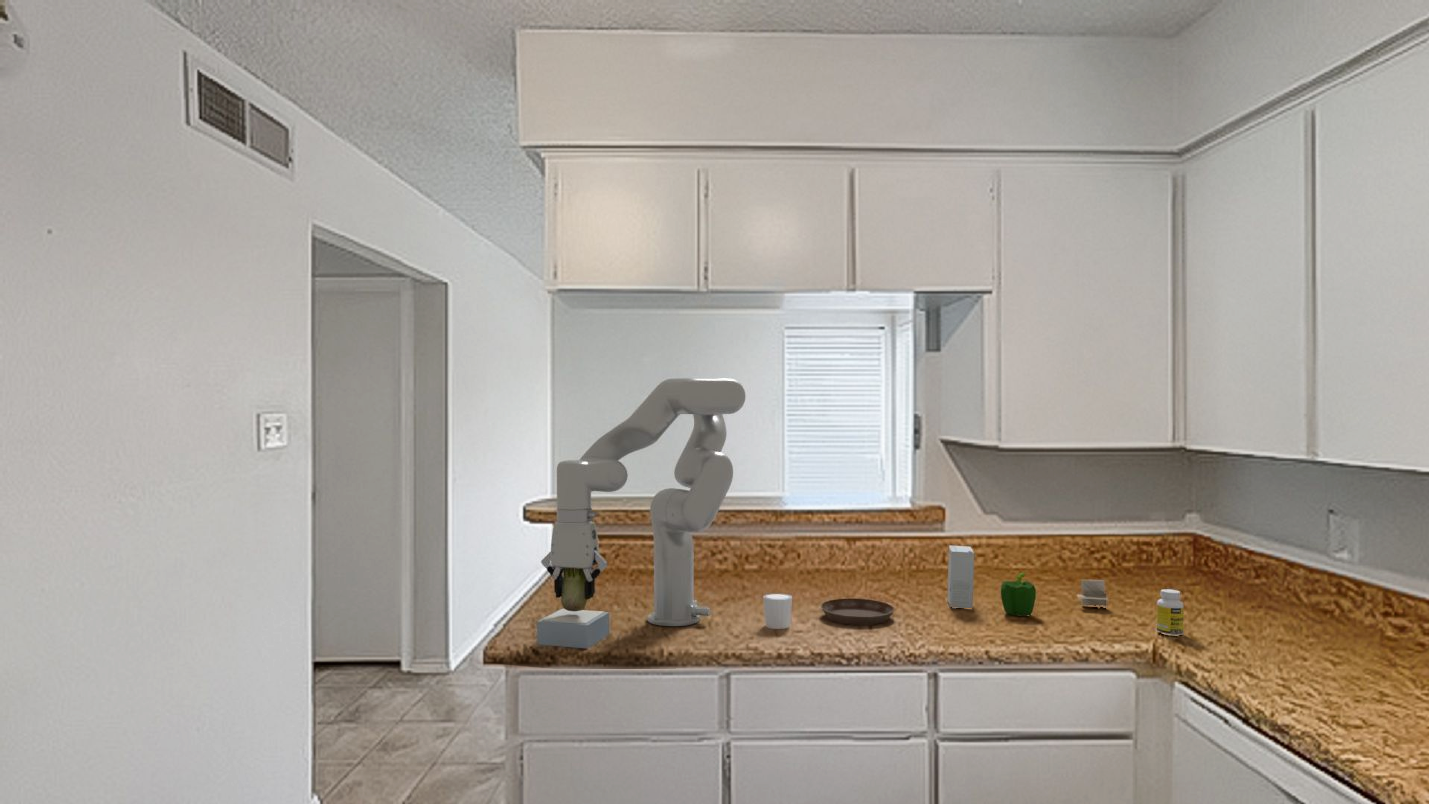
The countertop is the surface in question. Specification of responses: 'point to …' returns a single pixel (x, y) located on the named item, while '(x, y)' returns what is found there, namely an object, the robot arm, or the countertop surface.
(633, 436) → the robot arm
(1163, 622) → the supplement bottle
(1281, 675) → the countertop surface
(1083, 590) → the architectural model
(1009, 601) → the bell pepper
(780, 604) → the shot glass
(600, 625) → the base block
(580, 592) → the fennel bulb
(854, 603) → the plant saucer
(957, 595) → the skincare box
